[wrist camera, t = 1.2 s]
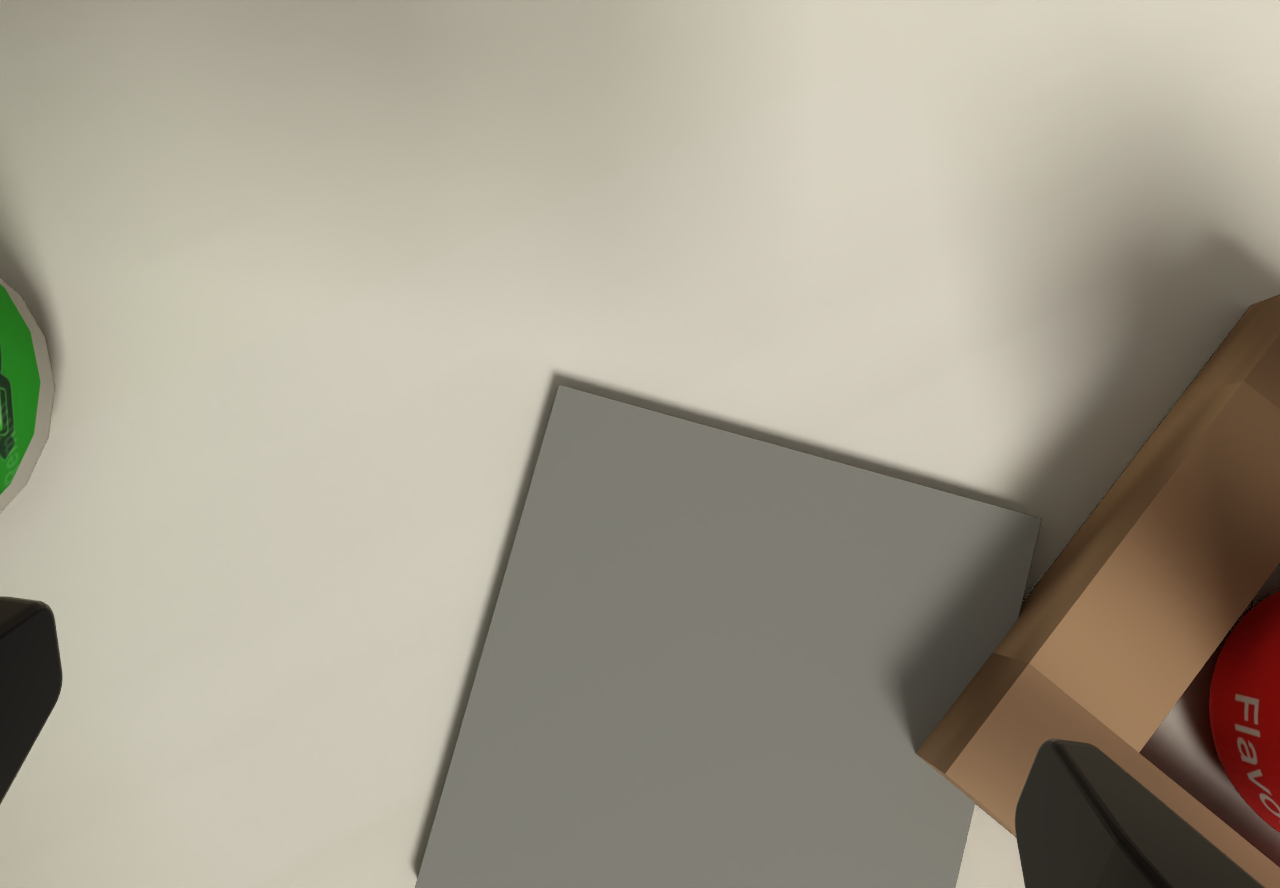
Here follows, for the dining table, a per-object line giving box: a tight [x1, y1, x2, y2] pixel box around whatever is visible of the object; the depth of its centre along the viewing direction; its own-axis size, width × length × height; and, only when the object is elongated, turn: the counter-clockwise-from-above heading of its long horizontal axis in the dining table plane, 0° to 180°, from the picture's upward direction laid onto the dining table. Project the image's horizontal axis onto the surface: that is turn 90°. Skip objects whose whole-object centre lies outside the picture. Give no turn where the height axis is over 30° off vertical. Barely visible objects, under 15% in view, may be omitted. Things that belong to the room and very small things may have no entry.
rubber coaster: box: [415, 385, 1042, 888], centre depth 24 cm, size 12×12×1 cm
